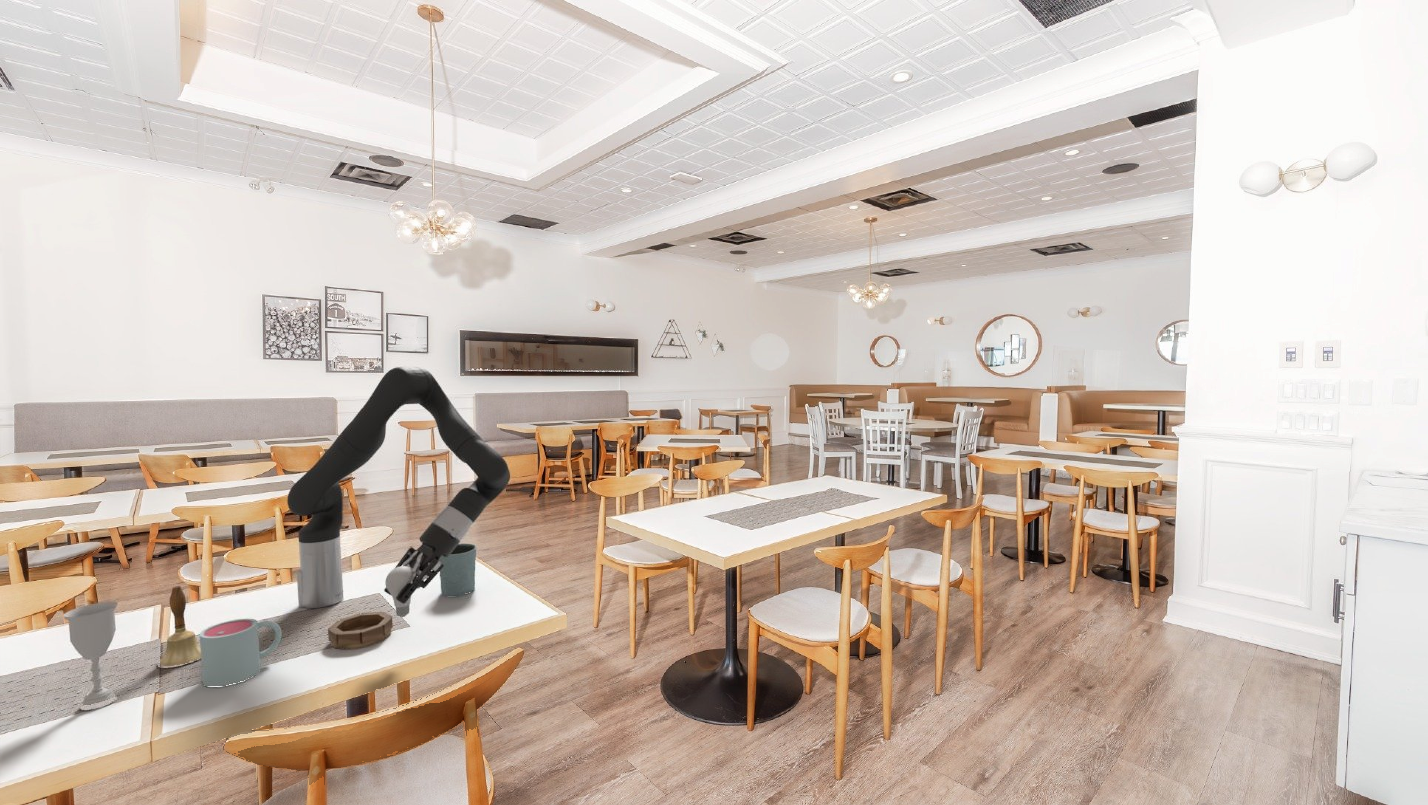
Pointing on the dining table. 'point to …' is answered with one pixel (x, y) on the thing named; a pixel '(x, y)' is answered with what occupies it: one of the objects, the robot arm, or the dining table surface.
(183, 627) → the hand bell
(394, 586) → the lightbulb
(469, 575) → the teal cylindrical pot
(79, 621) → the chalice
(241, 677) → the mug
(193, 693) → the dining table surface
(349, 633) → the holder
